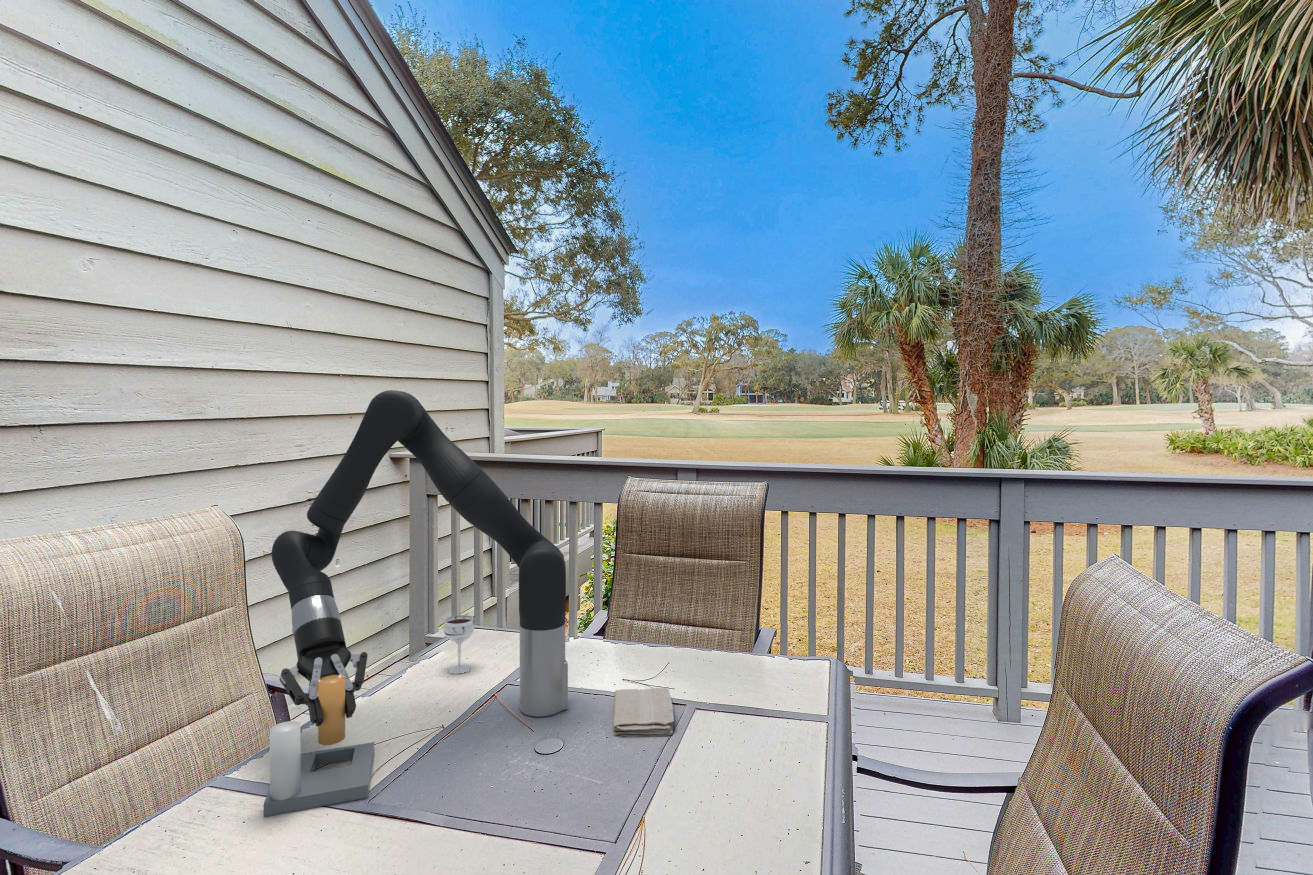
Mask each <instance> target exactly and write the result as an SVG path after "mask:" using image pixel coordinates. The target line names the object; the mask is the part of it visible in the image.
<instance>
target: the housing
mask: <svg viewBox="0 0 1313 875" xmlns="http://www.w3.org/2000/svg"><path fill="white" fill-rule="evenodd" d="M301 750H302V749H301V722H299V721H295V720H289V721H283V722H281V723H277V724H275V725H273V726H271V728H270V729H269V776H270V777H269V783H270V784H269V789H268V791H267V794H266V796H265V800H264V802H263V818H265V817H270V816H276V815H281V814H282V815H283V814H286V813H293V812H297V811H302V810H303V811H304V810H307V809H313V808H319V807H323V806H330V805H336V804H341V803H348V802H353V801H357V800H362V799H368V798H369V792H370V786H371V779H372V772H373V766H374V765H373V764H374V758H375V742H374V741H372V742H367V743H360V744H354V745H348V746H341V747H335V748H329V749H328V748H327V749H321V750H314V751H309V752H308V751H307V752H302V751H301ZM301 752H302V753H301ZM347 761H351V764H350V765H345V766H340V767H334V768H328V769H323V770H316V766H322V765H327V764H333V763H334V764H335V763H339V762H347Z"/></svg>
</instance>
